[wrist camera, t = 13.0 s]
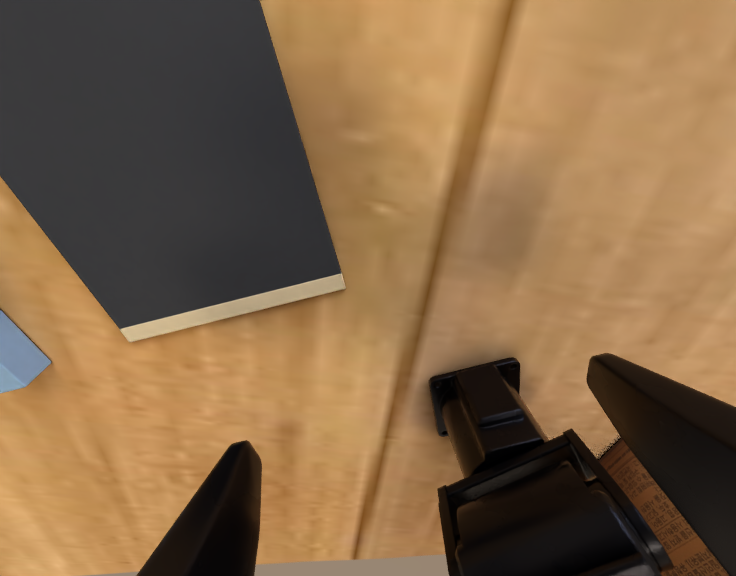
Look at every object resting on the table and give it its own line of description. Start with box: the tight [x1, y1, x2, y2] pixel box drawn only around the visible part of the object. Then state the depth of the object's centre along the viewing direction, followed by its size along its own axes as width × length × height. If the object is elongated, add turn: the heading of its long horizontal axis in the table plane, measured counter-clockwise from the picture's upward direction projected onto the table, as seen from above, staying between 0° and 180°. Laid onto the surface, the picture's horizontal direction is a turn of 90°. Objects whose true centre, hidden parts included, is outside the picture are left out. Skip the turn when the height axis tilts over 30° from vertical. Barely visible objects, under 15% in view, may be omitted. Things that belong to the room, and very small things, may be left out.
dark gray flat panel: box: [0, 0, 346, 342], centre depth 14 cm, size 18×13×1 cm
